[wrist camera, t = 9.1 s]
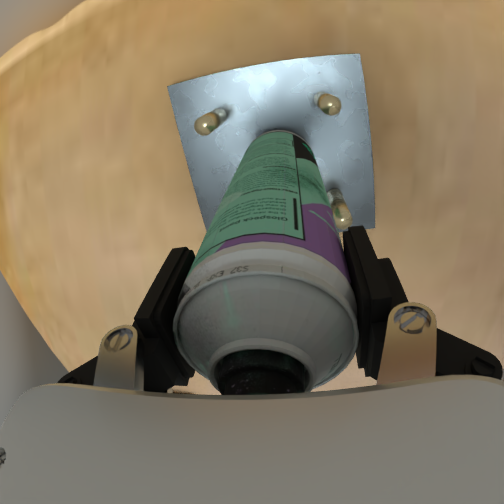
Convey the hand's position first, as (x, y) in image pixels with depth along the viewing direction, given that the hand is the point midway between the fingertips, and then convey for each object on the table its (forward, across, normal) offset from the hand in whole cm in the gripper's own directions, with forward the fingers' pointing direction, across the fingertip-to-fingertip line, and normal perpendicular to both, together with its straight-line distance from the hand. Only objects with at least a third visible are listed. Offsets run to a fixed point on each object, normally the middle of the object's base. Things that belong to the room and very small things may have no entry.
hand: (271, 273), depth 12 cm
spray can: (+14, 0, 0) cm, 14 cm away
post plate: (+18, 0, 0) cm, 18 cm away
